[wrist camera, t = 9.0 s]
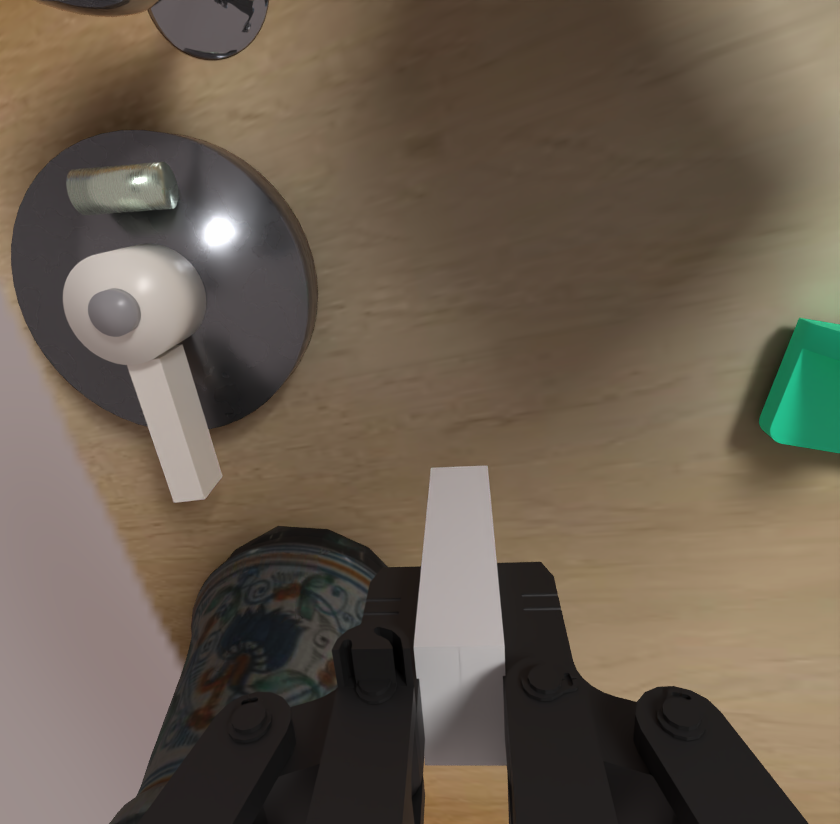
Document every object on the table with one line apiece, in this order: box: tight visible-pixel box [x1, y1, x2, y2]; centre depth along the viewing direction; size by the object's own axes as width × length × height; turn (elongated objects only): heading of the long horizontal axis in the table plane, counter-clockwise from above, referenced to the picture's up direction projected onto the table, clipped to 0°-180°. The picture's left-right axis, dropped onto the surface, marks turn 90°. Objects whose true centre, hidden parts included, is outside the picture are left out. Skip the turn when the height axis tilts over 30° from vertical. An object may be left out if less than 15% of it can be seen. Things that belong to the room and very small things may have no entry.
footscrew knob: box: [63, 243, 223, 503], centre depth 36 cm, size 15×6×5 cm, turn 9°
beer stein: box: [109, 526, 387, 824], centre depth 37 cm, size 17×19×25 cm
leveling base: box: [11, 130, 318, 429], centre depth 37 cm, size 18×18×5 cm
